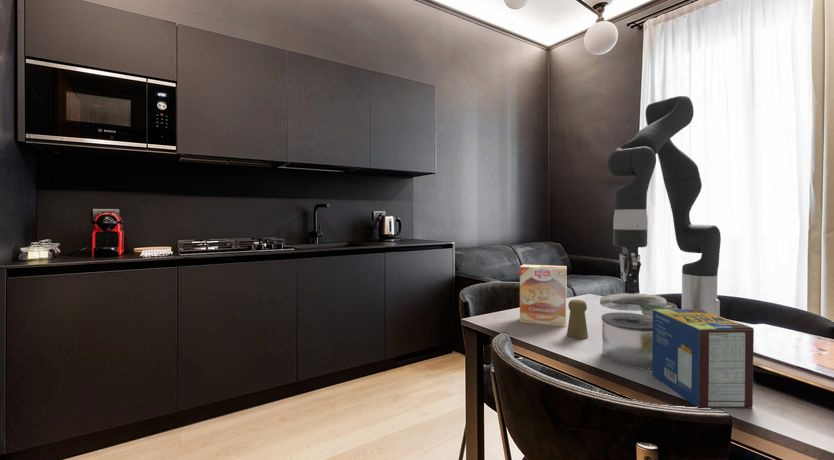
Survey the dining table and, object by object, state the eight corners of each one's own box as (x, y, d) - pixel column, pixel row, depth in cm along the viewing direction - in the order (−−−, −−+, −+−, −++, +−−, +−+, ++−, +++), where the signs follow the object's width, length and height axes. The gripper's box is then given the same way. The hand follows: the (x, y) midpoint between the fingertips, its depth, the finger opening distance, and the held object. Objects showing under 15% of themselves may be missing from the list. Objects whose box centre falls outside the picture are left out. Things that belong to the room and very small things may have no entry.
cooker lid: (658, 312, 102) (657, 302, 103) (674, 299, 89) (673, 288, 90) (596, 308, 107) (596, 299, 108) (604, 295, 94) (603, 285, 95)
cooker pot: (656, 351, 103) (657, 314, 102) (673, 372, 89) (674, 330, 89) (598, 345, 107) (598, 310, 107) (605, 365, 94) (605, 325, 93)
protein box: (696, 374, 88) (697, 308, 87) (753, 409, 72) (755, 328, 72) (650, 374, 88) (651, 308, 87) (697, 408, 72) (699, 328, 72)
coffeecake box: (519, 322, 131) (519, 266, 130) (522, 317, 138) (522, 263, 137) (566, 327, 125) (566, 268, 125) (566, 321, 132) (566, 265, 131)
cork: (590, 339, 113) (590, 302, 112) (568, 338, 114) (568, 302, 113) (585, 333, 118) (585, 298, 118) (565, 332, 120) (565, 297, 119)
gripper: (654, 228, 88) (652, 302, 89) (640, 227, 101) (639, 292, 101) (618, 228, 91) (617, 300, 91) (609, 227, 103) (608, 290, 104)
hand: (629, 296), depth 96 cm, fingers closed
